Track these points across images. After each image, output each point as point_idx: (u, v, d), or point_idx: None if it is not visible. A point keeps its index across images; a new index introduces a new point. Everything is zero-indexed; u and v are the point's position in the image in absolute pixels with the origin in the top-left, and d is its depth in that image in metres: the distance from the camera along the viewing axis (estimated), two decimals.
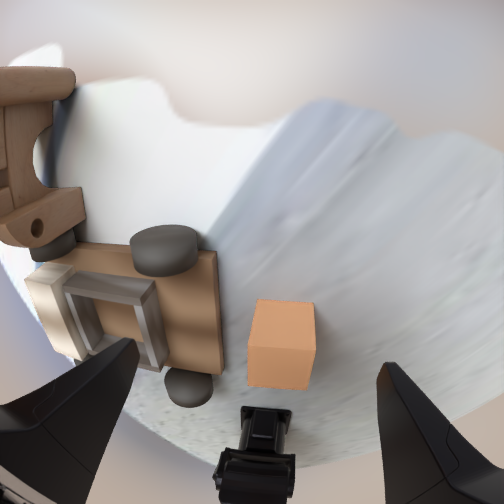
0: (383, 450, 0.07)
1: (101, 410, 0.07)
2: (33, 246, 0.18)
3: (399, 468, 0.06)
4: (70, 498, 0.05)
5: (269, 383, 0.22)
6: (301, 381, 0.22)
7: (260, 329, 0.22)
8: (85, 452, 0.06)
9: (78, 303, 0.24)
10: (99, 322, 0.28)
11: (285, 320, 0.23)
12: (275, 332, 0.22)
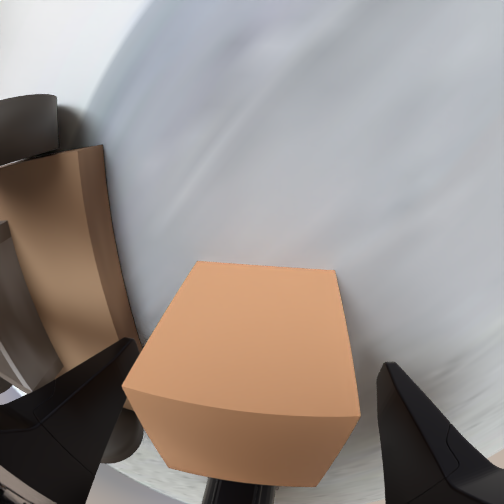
0: (383, 450, 0.07)
1: (101, 410, 0.07)
2: None
3: (399, 468, 0.06)
4: (70, 498, 0.05)
5: (217, 474, 0.07)
6: (301, 476, 0.06)
7: (176, 337, 0.07)
8: (85, 452, 0.06)
9: None
10: None
11: (259, 312, 0.08)
12: (220, 348, 0.07)
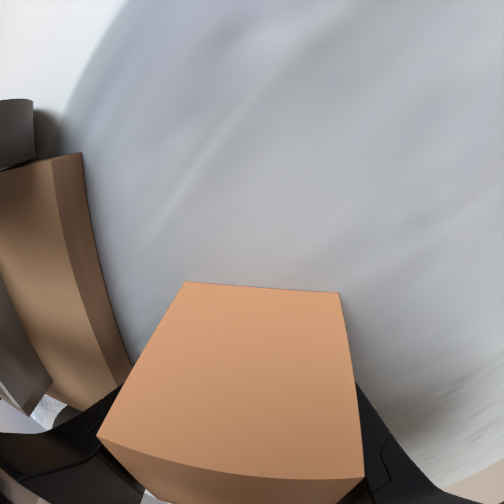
0: None
1: None
2: None
3: None
4: None
5: None
6: None
7: (157, 379, 0.06)
8: None
9: None
10: None
11: (252, 349, 0.07)
12: (206, 394, 0.05)
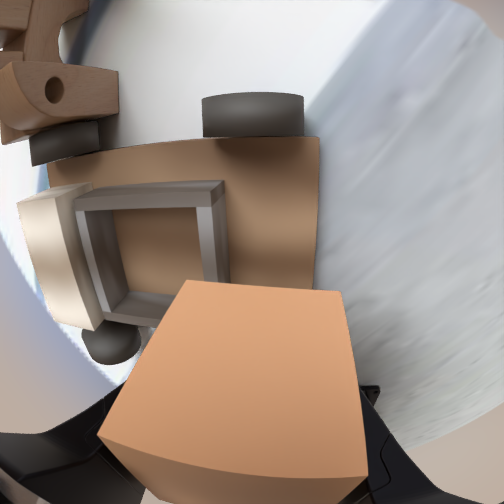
0: None
1: None
2: (43, 110, 0.10)
3: None
4: None
5: None
6: None
7: (158, 377, 0.06)
8: None
9: (95, 231, 0.17)
10: (123, 271, 0.20)
11: (254, 347, 0.07)
12: (208, 393, 0.05)
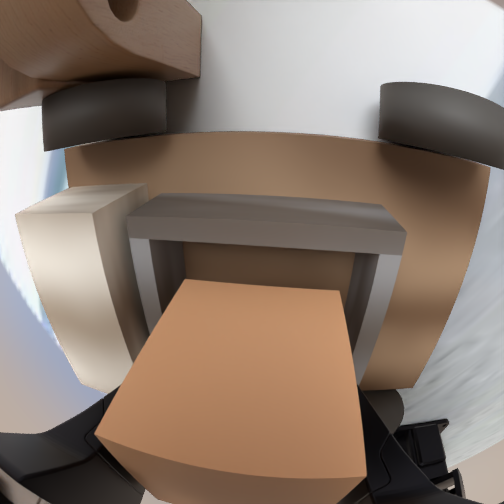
0: None
1: None
2: (99, 23, 0.04)
3: None
4: None
5: None
6: None
7: (156, 377, 0.06)
8: None
9: (162, 271, 0.11)
10: None
11: (252, 347, 0.07)
12: (206, 392, 0.05)
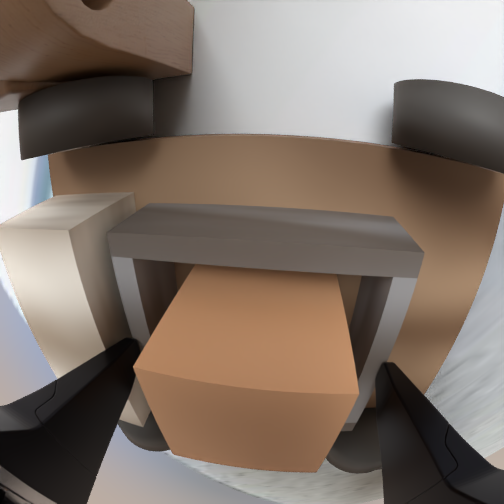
0: (381, 450, 0.07)
1: (102, 410, 0.07)
2: (62, 11, 0.03)
3: (397, 468, 0.06)
4: (71, 499, 0.05)
5: (220, 459, 0.08)
6: (302, 460, 0.07)
7: (184, 322, 0.07)
8: (86, 453, 0.06)
9: (150, 291, 0.09)
10: None
11: (262, 300, 0.08)
12: (227, 331, 0.07)
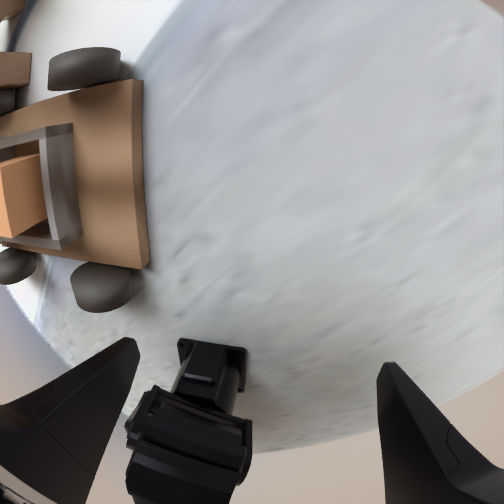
0: (383, 450, 0.07)
1: (101, 410, 0.07)
2: None
3: (399, 468, 0.06)
4: (70, 498, 0.05)
5: None
6: (4, 221, 0.14)
7: None
8: (85, 452, 0.06)
9: None
10: None
11: (16, 159, 0.15)
12: None
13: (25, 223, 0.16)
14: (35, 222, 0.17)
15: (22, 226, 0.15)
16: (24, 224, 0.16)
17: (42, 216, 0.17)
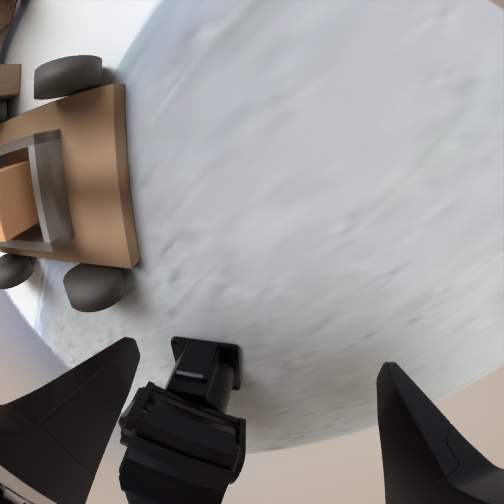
0: (383, 450, 0.07)
1: (101, 410, 0.07)
2: None
3: (399, 468, 0.06)
4: (70, 498, 0.05)
5: None
6: None
7: None
8: (85, 452, 0.06)
9: None
10: None
11: (8, 167, 0.16)
12: None
13: (18, 227, 0.16)
14: (28, 226, 0.17)
15: (15, 230, 0.16)
16: (17, 228, 0.16)
17: (34, 220, 0.18)
